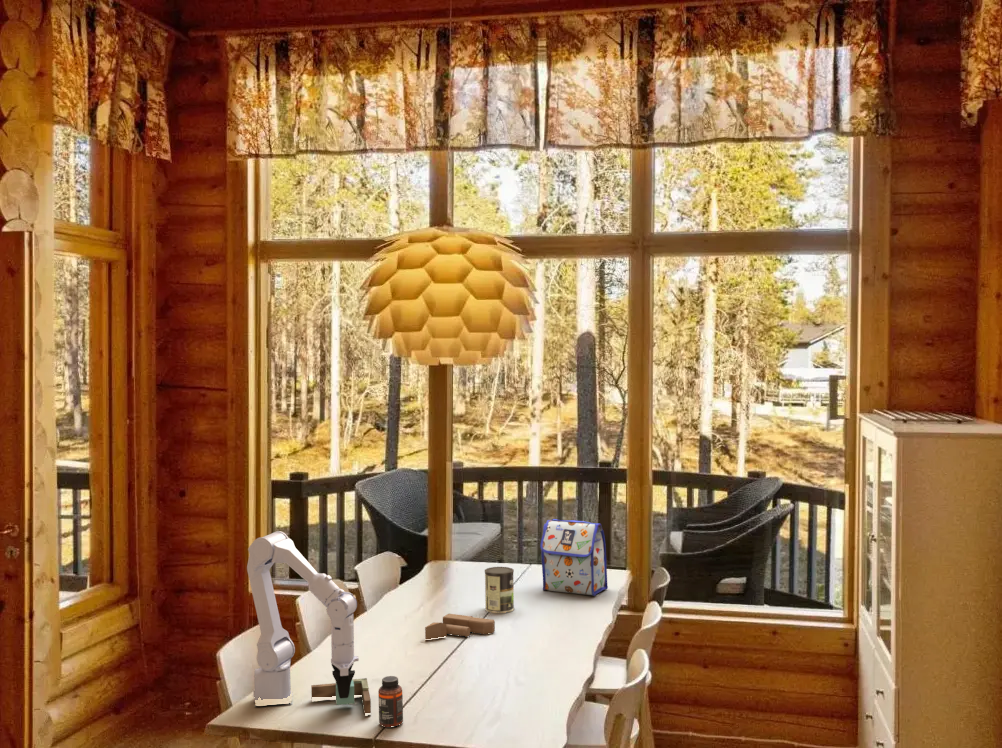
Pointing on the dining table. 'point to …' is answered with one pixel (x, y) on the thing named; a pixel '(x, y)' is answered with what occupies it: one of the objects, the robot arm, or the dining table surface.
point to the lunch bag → (573, 557)
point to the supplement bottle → (390, 702)
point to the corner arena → (359, 689)
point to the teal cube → (345, 700)
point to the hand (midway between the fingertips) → (343, 693)
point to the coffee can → (499, 589)
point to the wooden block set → (459, 626)
